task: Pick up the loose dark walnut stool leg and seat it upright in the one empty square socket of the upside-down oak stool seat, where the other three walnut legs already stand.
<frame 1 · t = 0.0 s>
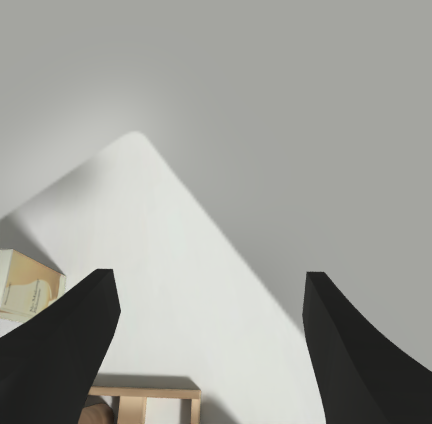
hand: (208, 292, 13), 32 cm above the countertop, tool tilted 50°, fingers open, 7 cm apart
skincare box: (48, 298, 47), on the countertop
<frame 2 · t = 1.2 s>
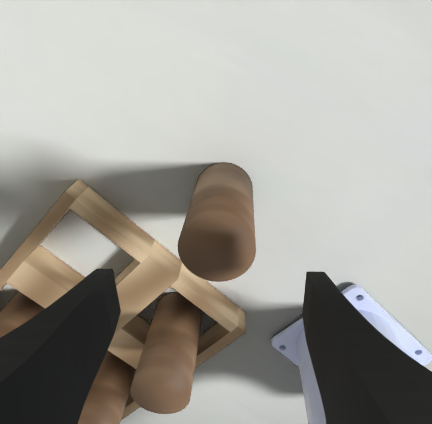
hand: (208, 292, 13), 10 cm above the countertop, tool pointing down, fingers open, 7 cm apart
stool seat: (106, 308, 27), on the countertop
loose leg: (224, 189, 22), on the countertop
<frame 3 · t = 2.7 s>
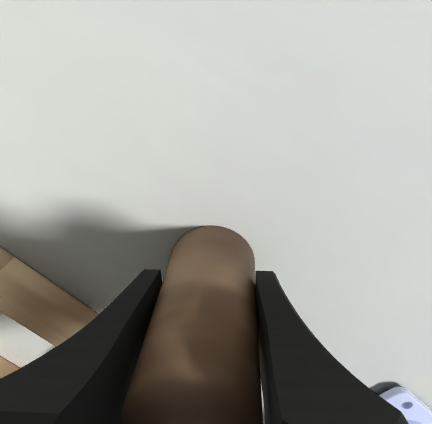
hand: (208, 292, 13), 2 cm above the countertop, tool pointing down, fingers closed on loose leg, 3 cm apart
stool seat: (56, 406, 20), on the countertop
loose leg: (212, 262, 15), on the countertop, touching gripper
when the fingers open (3 cm above the countertop, at t = 6.2 s): loose leg stays where it is, resting in stool seat.
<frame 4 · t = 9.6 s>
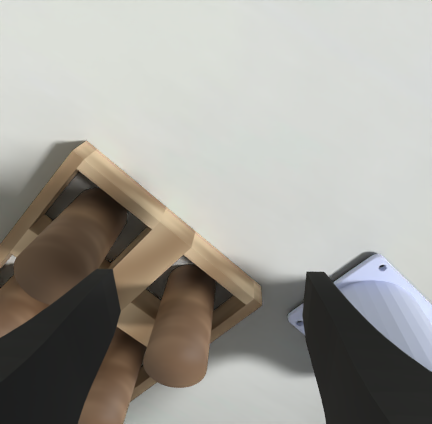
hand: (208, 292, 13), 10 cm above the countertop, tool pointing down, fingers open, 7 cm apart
stool seat: (114, 283, 26), on the countertop
loose leg: (101, 212, 24), resting in stool seat
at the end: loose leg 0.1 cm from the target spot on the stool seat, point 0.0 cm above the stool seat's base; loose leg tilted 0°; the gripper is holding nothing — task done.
